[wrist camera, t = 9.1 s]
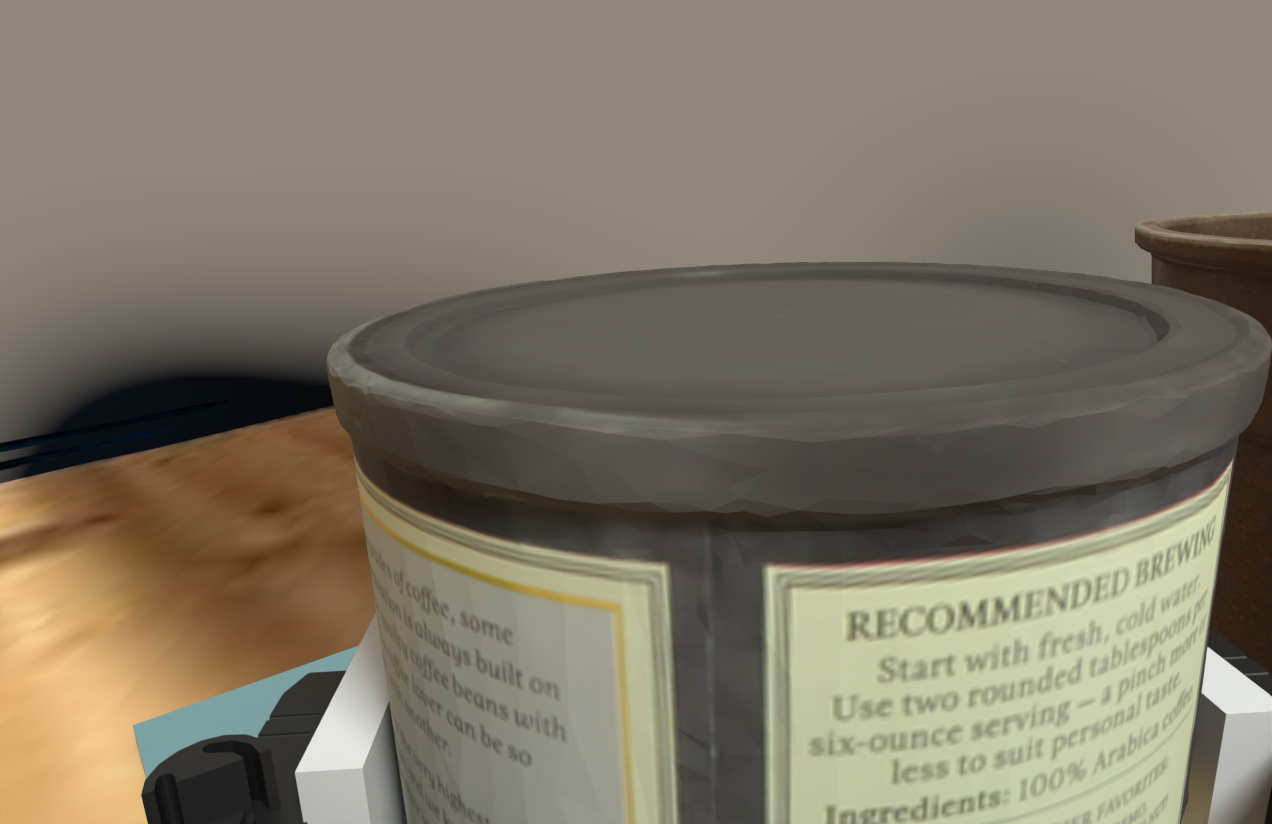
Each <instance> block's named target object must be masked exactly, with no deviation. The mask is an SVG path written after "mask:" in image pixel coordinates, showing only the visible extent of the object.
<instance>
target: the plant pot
mask: <svg viewBox="0 0 1272 824" xmlns="http://www.w3.org/2000/svg"><path fill="white" fill-rule="evenodd" d="M1135 243H1136V244H1137V245H1138V246H1139V247H1140V248H1141V249H1144V250H1146V251H1147V252H1151V255H1152V284H1153V285H1159V286H1166V287H1170V288H1174V289H1178V290H1182V291H1185V292H1187V293H1190V294H1193V295H1198V296H1202V297H1204V298H1207V299H1211V300H1215V301H1218V302H1220V303H1222V304H1224V305H1227V306H1229V307H1232V308H1235V309H1237V310H1239V311H1241V312H1243V313H1246V314H1248V315H1250V316H1251V317H1253V318H1254V319H1256V320H1257V321H1258V322H1260V323H1261V324H1262V326H1263V327H1264V328H1265V330H1266V331H1267V333H1268V334H1269V336H1270V337H1271V342H1272V211H1258V212H1240V213H1225V214H1212V215H1198V216H1186V217H1177V218H1167V219H1158V220H1149V221H1143V222H1140V223H1138V224H1137V225H1136V226H1135ZM1210 631H1212V632H1215V633H1217V634H1219V635H1221V636H1222V637H1223V638H1225V639H1226V640H1227V641H1229V642H1230V643H1231V644H1233V645H1234V646H1235V647H1237V648H1238V649H1240V650H1241V651H1242V652H1244V653H1245V654H1246V657H1247V658H1252V659H1253V660H1254V661H1256V662H1257V663H1259V664H1260V665H1261V666H1263V667H1264V668H1265V669H1267V670H1268V674H1269V675H1272V352H1271V359H1270V366H1269V373H1268V377H1267V382H1266V386H1265V391H1264V395H1263V400H1262V402H1261V405H1260V407H1259V409H1258V411H1257V413H1256V415H1255V416H1254V418H1253V420H1252V421H1251V423H1250V424H1249V426H1248V427H1247V428H1246V429H1245V430H1244V431H1243V432H1242V433H1241V434H1240V435H1239V439H1238V445H1237V452H1236V458H1235V464H1234V470H1233V476H1232V483H1231V489H1230V495H1229V502H1228V509H1227V517H1226V525H1225V532H1224V537H1223V542H1222V547H1221V554H1220V561H1219V569H1218V577H1217V583H1216V590H1215V596H1214V603H1213V609H1212V616H1211V622H1210Z"/></svg>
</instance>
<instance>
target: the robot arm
mask: <svg viewBox="0 0 1272 824" xmlns="http://www.w3.org/2000/svg"><path fill="white" fill-rule="evenodd" d="M269 717H270V718H269V720H267V721H266V722H265V724H264V726H263V727H262V729H261V731H260V732H259V734H258V738H257V737H254V736H250V735H247V734H236V735H222V736H218V737H214V738H209V739H205V740H201V741H199V742H197V743H194V744H192V745H190V746H188V747H185V748H183V749H181V750H179V751H177V752H176V753H174V754H173V755H171V756H170V757H168V758H167V759H166V760H164V761H163V762H161V763H160V764H158V765H157V767H156V768H155V769H154V770H153V771H152V773H151V774H150V775H149V776H148V777H147V779H146V780H145V783H144V787H143V790H142V794H141V796H142V800H143V804H144V809H145V813H146V817H147V821H148V824H407V817H406V810H405V803H404V797H403V790H402V783H401V777H400V770H399V763H398V756H397V750H396V743H395V736H394V729H393V723H392V716H391V709H390V702H389V696H388V689H387V682H386V675H385V668H384V662H383V655H382V648H381V641H380V634H379V628H378V621H377V614H375V616H374V618H373V620H372V622H371V624H370V626H369V628H368V629H367V631H366V633H365V635H364V637H363V639H362V641H361V643H360V645H359V647H358V649H357V651H356V653H355V655H354V657H353V659H352V661H351V663H350V665H349V667H348V669H347V670H345V671H329V672H312V673H308V674H307V675H305V676H304V677H303V678H302V679H300V680H299V681H298V682H297V683H295V684H294V685H293V686H292V687H290V688H289V689H288V690H287V691H285V692H284V693H283V694H282V696H281V698H280V699H279V701H278V703H277V704H276V706H275V708H274V709H273V711H272V712H271V714H270V716H269ZM1181 824H1272V675H1269V674H1268V670H1267V669H1265V668H1264V667H1263V666H1261V665H1260V664H1259V663H1257V662H1256V661H1254V660H1253V659H1252V658H1247V657H1246V654H1245V653H1244V652H1242V651H1241V650H1240V649H1238V648H1237V647H1235V646H1234V645H1233V644H1231V643H1230V642H1229V641H1227V640H1226V639H1225V638H1223V637H1222V636H1221V635H1219V634H1217V633H1215V632H1212V631H1210V630H1209V638H1208V646H1207V654H1206V663H1205V671H1204V679H1203V686H1202V693H1201V699H1200V706H1199V713H1198V720H1197V728H1196V736H1195V743H1194V749H1193V756H1192V764H1191V772H1190V779H1189V786H1188V802H1187V805H1186V808H1185V811H1184V815H1183V818H1182V821H1181Z"/></svg>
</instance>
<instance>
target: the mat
mask: <svg viewBox="0 0 1272 824" xmlns="http://www.w3.org/2000/svg"><path fill="white" fill-rule="evenodd" d="M358 647H359V646H357V647H354V648H351V649H348V650H345V651H342V652H340V653H337V654H334V655H331V656H328V657H325V658H323V659H320V660H317V661H314V662H311V663H308V664H306V665H303V666H300V667H297V668H294V669H291V670H289V671H286V672H283V673H280V674H277V675H274V676H272V677H269V678H266V679H263V680H260V681H257V682H255V683H252V684H249V685H246V686H243V687H240V688H238V689H235V690H232V691H229V692H226V693H223V694H221V695H218V696H215V697H212V698H209V699H206V700H204V701H201V702H198V703H195V704H192V705H189V706H187V707H184V708H181V709H178V710H175V711H172V712H170V713H167V714H164V715H161V716H158V717H155V718H153V719H150V720H147V721H144V722H141V723H138V724H136V725H133V728H134V732H135V736H136V741H137V744H138V748H139V752H140V756H141V759H142V763H143V767H144V770H145V774H146V778H147V777H148V776H149V775H150V774H151V773H152V771H153V770H154V769H155V768H156V767H157V765H158V764H160V763H161V762H163V761H164V760H166V759H167V758H168V757H170V756H171V755H173V754H174V753H176V752H177V751H179V750H181V749H183V748H185V747H188V746H190V745H192V744H194V743H197V742H199V741H201V740H205V739H209V738H214V737H218V736H222V735H236V734H247V735H250V736H254V737H257V738H258V734H259V732H260V731H261V729H262V727H263V726H264V724H265V722H266V721H267V720H269V718H270V717H269V716H270V714H271V712H272V711H273V709H274V708H275V706H276V704H277V703H278V701H279V699H280V698H281V696H282V694H283V693H284V692H285V691H287V690H288V689H289V688H290V687H292V686H293V685H294V684H295V683H297V682H298V681H299V680H300V679H302V678H303V677H304V676H305V675H307V674H308V673H312V672H329V671H345V670H347V669H348V667H349V665H350V663H351V661H352V659H353V657H354V655H355V653H356V651H357V649H358Z"/></svg>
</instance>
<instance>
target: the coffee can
mask: <svg viewBox="0 0 1272 824" xmlns="http://www.w3.org/2000/svg"><path fill="white" fill-rule="evenodd" d="M1271 352H1272V342H1271V337H1270V336H1269V334H1268V333H1267V331H1266V330H1265V328H1264V327H1263V326H1262V324H1261V323H1260V322H1258V321H1257V320H1256V319H1254V318H1253V317H1251V316H1250V315H1248V314H1246V313H1243V312H1241V311H1239V310H1237V309H1235V308H1232V307H1229V306H1227V305H1224V304H1222V303H1220V302H1218V301H1215V300H1211V299H1207V298H1204V297H1202V296H1198V295H1193V294H1190V293H1187V292H1185V291H1182V290H1178V289H1174V288H1170V287H1166V286H1159V285H1153V284H1147V283H1142V282H1135V281H1126V280H1119V279H1114V278H1110V277H1103V276H1091V275H1086V274H1080V273H1066V272H1056V271H1047V270H1033V269H1021V268H1009V267H997V266H979V265H969V264H953V265H952V264H950V265H949V264H938V263H937V264H936V263H906V262H821V263H808V262H800V263H799V262H797V263H772V264H739V265H710V266H700V267H684V268H666V269H654V270H642V271H627V272H618V273H617V272H616V273H607V274H597V275H588V276H579V277H572V278H565V279H558V280H550V281H534V282H528V283H521V284H515V285H509V286H503V287H497V288H492V289H486V290H480V291H474V292H469V293H464V294H460V295H455V296H451V297H444V298H441V299H436V300H432V301H428V302H426V303H423V304H418V305H414V306H410V307H408V308H405V309H402V310H400V311H396V312H393V313H390V314H386V315H384V316H382V317H379V318H377V319H375V320H372V321H370V322H367V323H365V324H363V325H361V326H359V327H357V328H355V329H353V330H351V331H350V332H348V333H346V334H344V335H342V336H341V337H340V338H339V339H338V341H337V342H335V343H334V344H333V345H332V347H331V349H330V351H329V353H328V357H327V370H328V378H329V383H330V388H331V392H332V397H333V400H334V406H335V410H336V415H337V417H338V420H339V422H340V424H341V426H342V427H343V428H344V429H345V430H346V431H347V432H348V434H349V435H350V436H351V439H352V443H353V451H354V461H355V469H356V475H357V482H358V489H359V495H360V502H361V509H362V515H363V522H364V529H365V535H366V542H367V549H368V556H369V563H370V570H371V578H372V585H373V592H374V599H375V607H376V614H377V621H378V628H379V634H380V641H381V648H382V655H383V662H384V668H385V675H386V682H387V689H388V696H389V702H390V709H391V716H392V723H393V729H394V736H395V743H396V750H397V756H398V763H399V770H400V777H401V783H402V790H403V797H404V803H405V810H406V817H407V824H1181V821H1182V818H1183V815H1184V811H1185V808H1186V805H1187V802H1188V786H1189V779H1190V772H1191V764H1192V756H1193V749H1194V743H1195V736H1196V728H1197V720H1198V713H1199V706H1200V699H1201V693H1202V686H1203V679H1204V671H1205V663H1206V654H1207V646H1208V638H1209V630H1210V622H1211V616H1212V609H1213V603H1214V596H1215V590H1216V583H1217V577H1218V569H1219V561H1220V554H1221V547H1222V542H1223V537H1224V532H1225V525H1226V517H1227V509H1228V502H1229V495H1230V489H1231V483H1232V476H1233V470H1234V464H1235V458H1236V452H1237V445H1238V439H1239V435H1240V434H1241V433H1242V432H1243V431H1244V430H1245V429H1246V428H1247V427H1248V426H1249V424H1250V423H1251V421H1252V420H1253V418H1254V416H1255V415H1256V413H1257V411H1258V409H1259V407H1260V405H1261V402H1262V400H1263V395H1264V391H1265V386H1266V382H1267V377H1268V373H1269V366H1270V359H1271Z"/></svg>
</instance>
